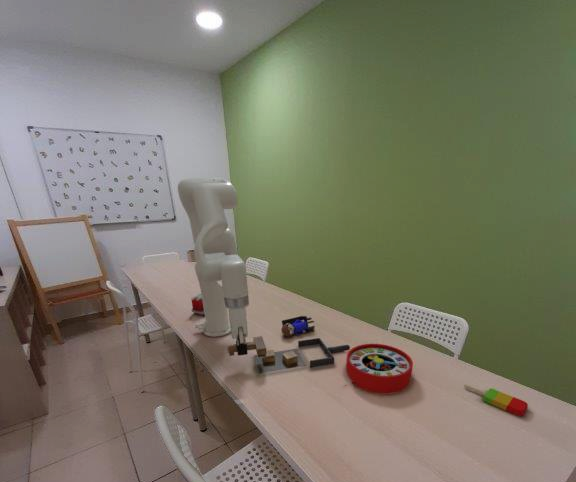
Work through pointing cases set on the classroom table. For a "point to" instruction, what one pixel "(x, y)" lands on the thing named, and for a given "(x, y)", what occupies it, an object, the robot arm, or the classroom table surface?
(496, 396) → the popsicle
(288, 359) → the cork chip
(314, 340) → the dustpan
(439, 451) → the classroom table surface
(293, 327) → the character figurine
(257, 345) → the brush
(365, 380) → the toy clock
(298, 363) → the tray
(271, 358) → the cork chip
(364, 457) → the classroom table surface
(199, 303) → the toy fire truck
